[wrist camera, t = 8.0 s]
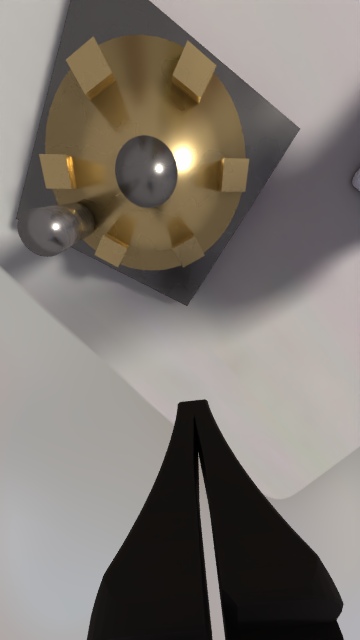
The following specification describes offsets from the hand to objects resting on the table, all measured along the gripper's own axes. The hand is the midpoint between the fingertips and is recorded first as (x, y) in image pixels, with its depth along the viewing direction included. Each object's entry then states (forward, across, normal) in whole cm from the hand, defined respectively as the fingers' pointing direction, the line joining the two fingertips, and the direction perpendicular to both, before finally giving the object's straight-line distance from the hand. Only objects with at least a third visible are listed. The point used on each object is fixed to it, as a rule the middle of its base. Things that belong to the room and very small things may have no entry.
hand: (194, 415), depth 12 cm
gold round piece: (+8, +1, -11) cm, 13 cm away
